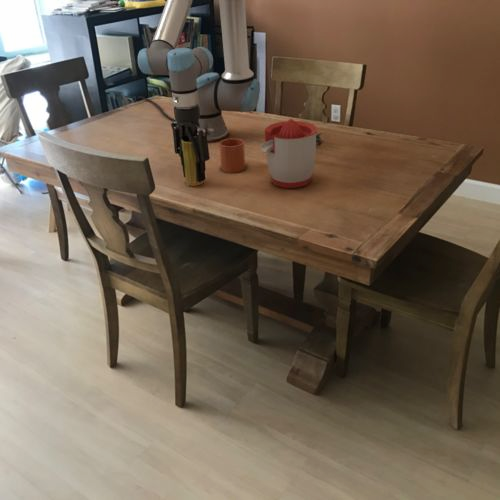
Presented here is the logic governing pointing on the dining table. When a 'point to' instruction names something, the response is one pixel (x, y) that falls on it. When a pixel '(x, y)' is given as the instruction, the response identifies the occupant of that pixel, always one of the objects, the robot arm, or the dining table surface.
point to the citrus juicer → (290, 152)
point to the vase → (190, 163)
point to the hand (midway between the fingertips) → (194, 177)
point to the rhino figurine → (318, 139)
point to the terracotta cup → (232, 155)
